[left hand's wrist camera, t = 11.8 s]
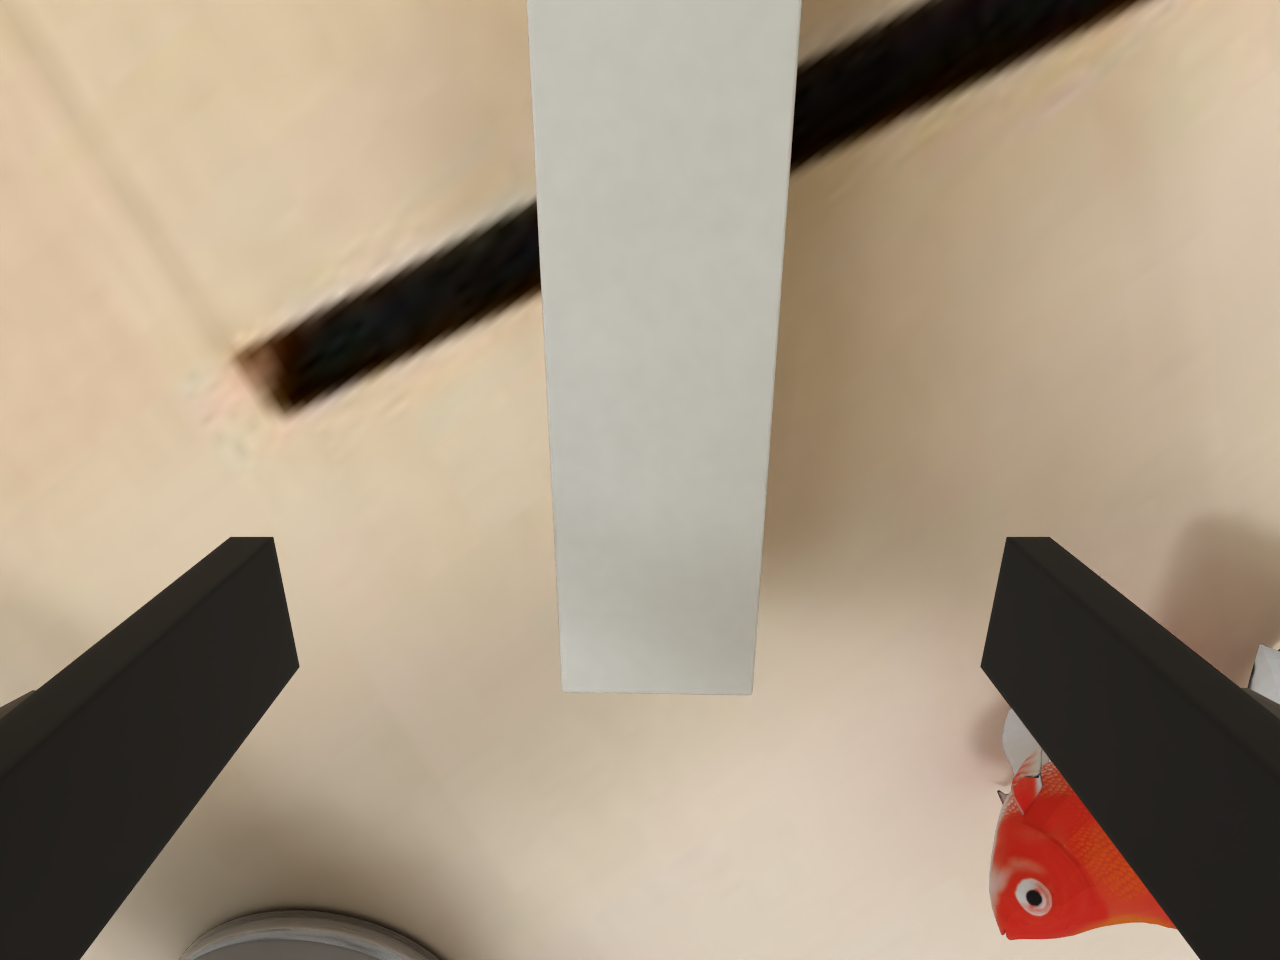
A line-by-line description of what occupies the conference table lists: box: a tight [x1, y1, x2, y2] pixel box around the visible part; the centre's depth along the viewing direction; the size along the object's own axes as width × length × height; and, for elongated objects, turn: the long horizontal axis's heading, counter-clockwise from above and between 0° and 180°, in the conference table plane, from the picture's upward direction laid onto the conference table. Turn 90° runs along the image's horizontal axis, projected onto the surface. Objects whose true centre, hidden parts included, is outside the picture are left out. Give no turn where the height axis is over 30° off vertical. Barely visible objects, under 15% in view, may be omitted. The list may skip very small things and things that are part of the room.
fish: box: [989, 644, 1280, 940], centre depth 23 cm, size 11×16×10 cm
